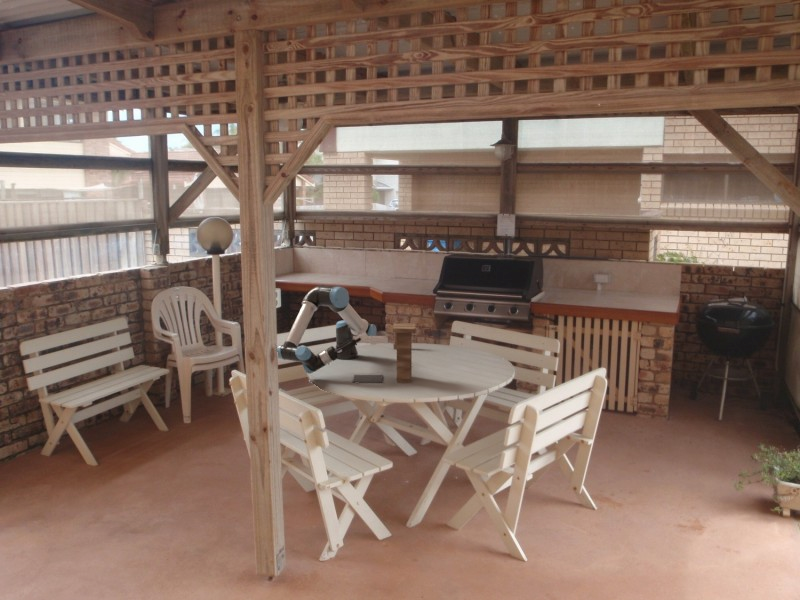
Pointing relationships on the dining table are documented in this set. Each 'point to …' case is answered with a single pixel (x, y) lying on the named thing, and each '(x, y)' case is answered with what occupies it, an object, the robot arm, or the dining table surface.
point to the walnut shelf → (404, 350)
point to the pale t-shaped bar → (374, 339)
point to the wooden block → (395, 338)
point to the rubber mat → (368, 378)
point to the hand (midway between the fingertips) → (366, 334)
